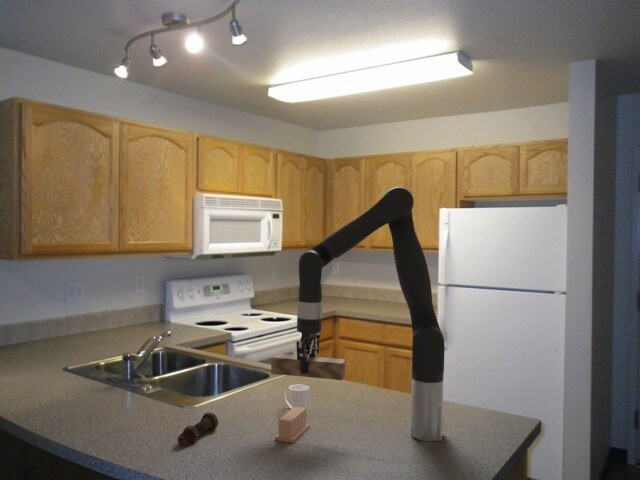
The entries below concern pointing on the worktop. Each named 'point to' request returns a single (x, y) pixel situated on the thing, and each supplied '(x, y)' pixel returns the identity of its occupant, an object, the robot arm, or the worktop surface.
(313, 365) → the walnut bar
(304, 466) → the worktop surface
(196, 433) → the bolt
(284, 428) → the ridge
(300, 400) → the cup
